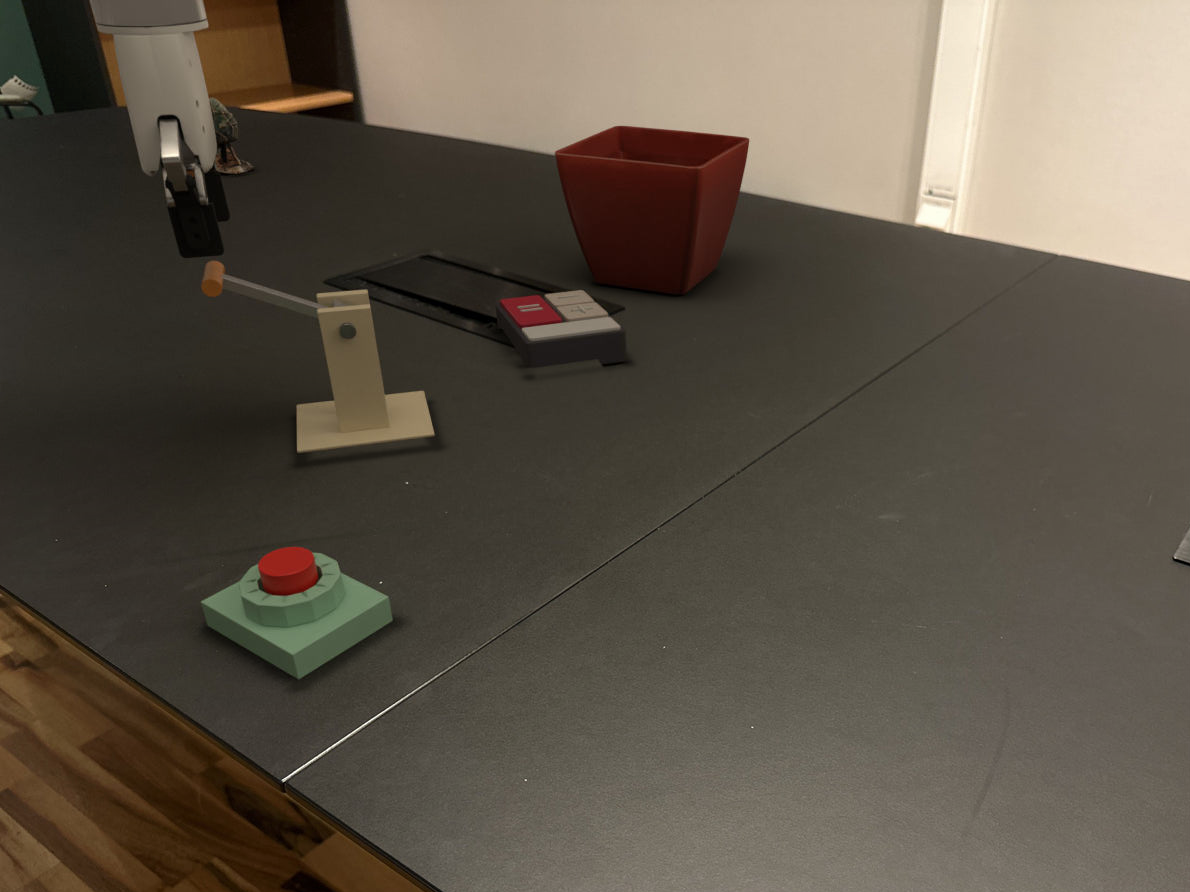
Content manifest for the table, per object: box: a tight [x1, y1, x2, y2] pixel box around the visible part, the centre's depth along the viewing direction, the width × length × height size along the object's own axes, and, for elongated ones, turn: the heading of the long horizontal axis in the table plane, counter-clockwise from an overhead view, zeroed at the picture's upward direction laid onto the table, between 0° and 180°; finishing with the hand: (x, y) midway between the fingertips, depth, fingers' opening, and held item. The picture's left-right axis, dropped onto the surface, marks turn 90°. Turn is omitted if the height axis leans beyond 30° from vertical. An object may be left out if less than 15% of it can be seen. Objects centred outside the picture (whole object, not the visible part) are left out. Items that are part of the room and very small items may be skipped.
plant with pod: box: [209, 97, 254, 175], centre depth 175 cm, size 8×11×20 cm
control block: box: [200, 552, 394, 680], centre depth 73 cm, size 10×8×4 cm
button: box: [257, 546, 318, 596], centre depth 72 cm, size 4×4×2 cm
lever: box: [200, 260, 355, 320], centre depth 91 cm, size 13×5×2 cm, turn 109°
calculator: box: [495, 289, 628, 369], centre depth 118 cm, size 11×4×15 cm
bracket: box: [296, 289, 436, 454], centre depth 96 cm, size 12×10×13 cm
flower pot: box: [554, 125, 750, 295], centre depth 135 cm, size 19×19×17 cm
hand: (207, 237), depth 87 cm, fingers open, 9 cm apart
